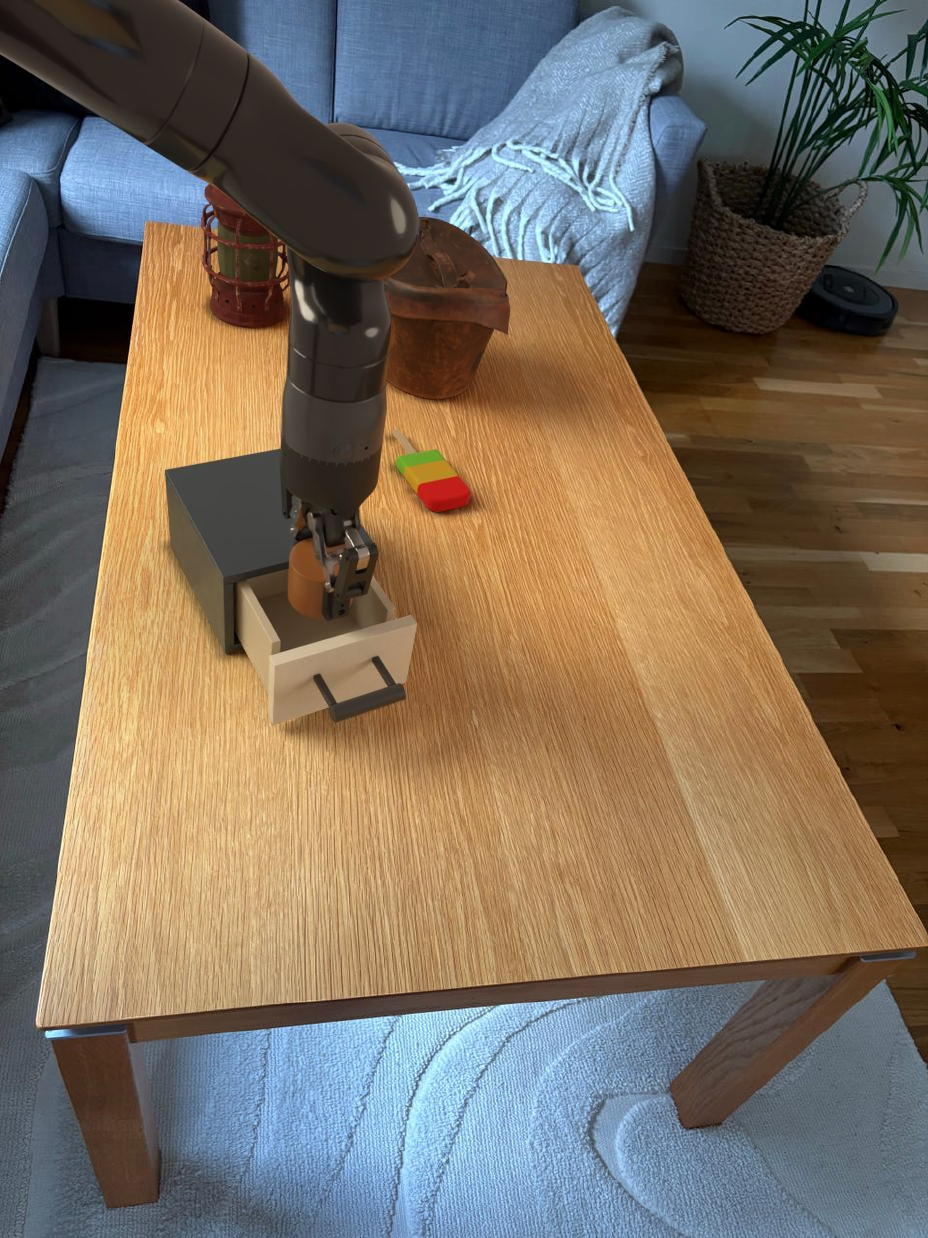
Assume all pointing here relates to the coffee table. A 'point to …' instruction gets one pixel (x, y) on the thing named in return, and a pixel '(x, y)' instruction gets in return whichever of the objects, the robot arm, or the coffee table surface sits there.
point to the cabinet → (228, 530)
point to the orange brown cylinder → (307, 579)
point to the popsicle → (431, 477)
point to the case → (443, 311)
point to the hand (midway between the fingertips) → (319, 591)
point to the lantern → (242, 265)
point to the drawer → (323, 651)
